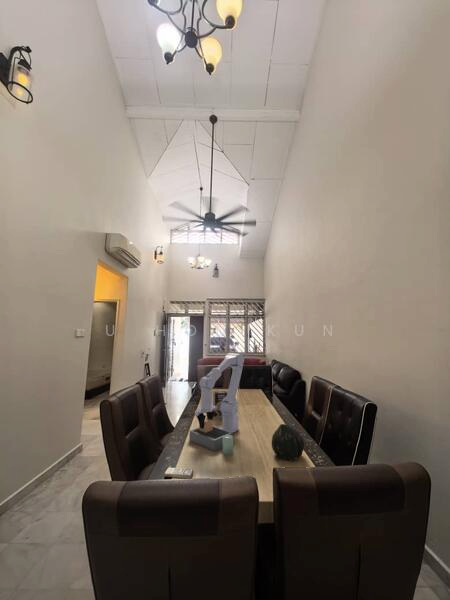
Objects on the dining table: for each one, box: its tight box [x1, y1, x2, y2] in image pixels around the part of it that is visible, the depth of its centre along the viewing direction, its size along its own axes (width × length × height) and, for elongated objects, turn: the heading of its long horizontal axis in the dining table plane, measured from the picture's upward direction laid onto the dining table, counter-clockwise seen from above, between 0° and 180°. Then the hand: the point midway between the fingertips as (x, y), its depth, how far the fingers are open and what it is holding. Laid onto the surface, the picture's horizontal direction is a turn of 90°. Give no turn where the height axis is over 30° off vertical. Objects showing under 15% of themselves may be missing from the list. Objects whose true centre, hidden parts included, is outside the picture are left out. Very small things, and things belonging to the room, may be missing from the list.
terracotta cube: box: [198, 417, 214, 432], centre depth 139 cm, size 5×5×5 cm
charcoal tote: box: [189, 425, 233, 452], centre depth 136 cm, size 18×14×5 cm
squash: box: [271, 423, 305, 461], centre depth 122 cm, size 14×15×15 cm
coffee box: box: [212, 390, 228, 420], centre depth 176 cm, size 9×6×16 cm
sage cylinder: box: [221, 434, 234, 456], centre depth 124 cm, size 5×5×7 cm
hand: (205, 426), depth 139 cm, fingers closed on terracotta cube, 5 cm apart
